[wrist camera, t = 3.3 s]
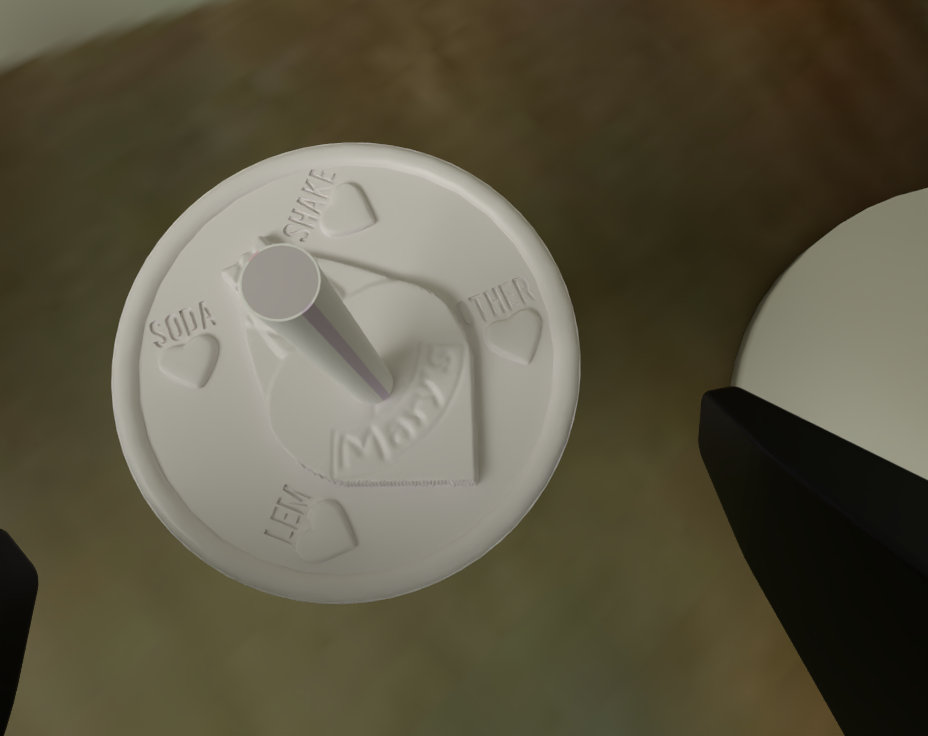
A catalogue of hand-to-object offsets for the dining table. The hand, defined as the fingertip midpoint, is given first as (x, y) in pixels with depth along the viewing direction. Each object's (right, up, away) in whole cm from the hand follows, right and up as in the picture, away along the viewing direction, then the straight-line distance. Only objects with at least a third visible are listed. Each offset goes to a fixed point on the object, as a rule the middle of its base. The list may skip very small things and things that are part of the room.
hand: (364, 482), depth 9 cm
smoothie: (0, 0, +10) cm, 10 cm away
